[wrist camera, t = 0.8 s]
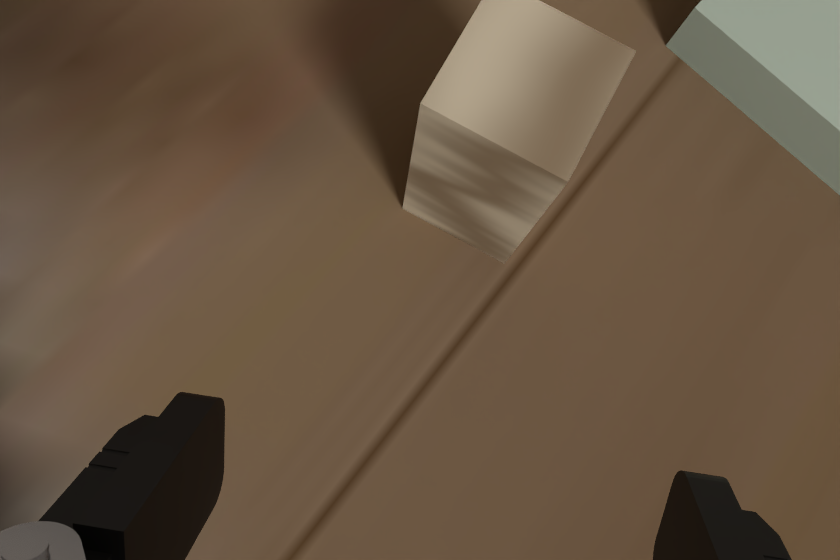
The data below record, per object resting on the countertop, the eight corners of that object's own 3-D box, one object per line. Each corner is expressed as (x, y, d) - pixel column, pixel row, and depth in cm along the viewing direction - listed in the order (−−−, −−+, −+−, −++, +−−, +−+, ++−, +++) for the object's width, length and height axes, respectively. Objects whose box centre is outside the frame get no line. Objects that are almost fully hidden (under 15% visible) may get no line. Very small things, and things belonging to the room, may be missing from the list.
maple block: (402, 208, 32) (420, 103, 22) (455, 116, 33) (495, -23, 23) (504, 263, 31) (568, 182, 22) (554, 168, 33) (636, 50, 23)
